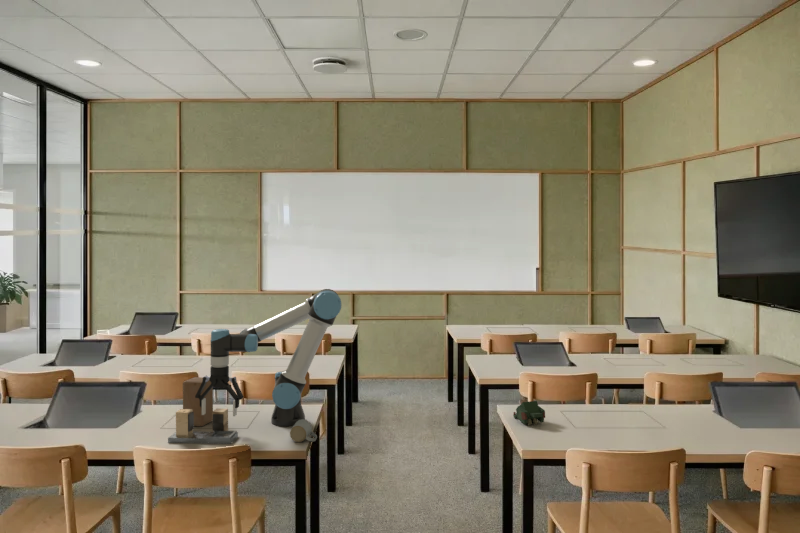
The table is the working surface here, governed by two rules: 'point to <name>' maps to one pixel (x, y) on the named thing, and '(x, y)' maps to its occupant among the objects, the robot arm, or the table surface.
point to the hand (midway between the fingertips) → (219, 414)
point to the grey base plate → (189, 436)
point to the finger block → (220, 419)
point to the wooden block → (197, 400)
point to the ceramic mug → (302, 431)
